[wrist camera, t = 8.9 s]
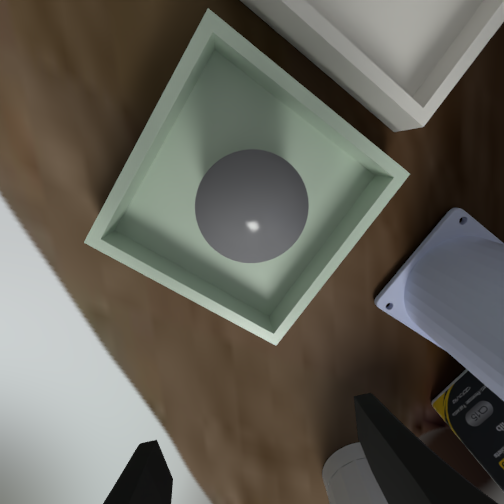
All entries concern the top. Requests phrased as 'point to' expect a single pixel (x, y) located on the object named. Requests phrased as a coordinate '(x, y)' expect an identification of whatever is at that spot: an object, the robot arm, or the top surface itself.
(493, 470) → the medicine bottle
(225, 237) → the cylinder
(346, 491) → the cup
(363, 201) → the bin
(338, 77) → the bin
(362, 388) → the top surface
